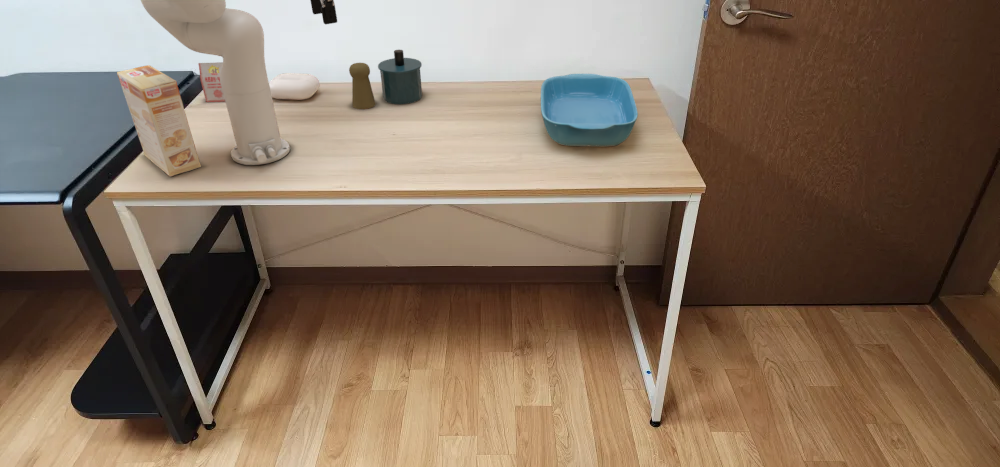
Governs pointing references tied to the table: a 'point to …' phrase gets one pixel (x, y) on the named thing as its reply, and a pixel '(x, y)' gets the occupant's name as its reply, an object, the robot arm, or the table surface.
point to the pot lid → (399, 64)
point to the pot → (401, 87)
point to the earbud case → (294, 86)
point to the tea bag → (211, 81)
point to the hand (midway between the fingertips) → (325, 18)
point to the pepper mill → (361, 86)
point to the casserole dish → (588, 109)
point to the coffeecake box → (159, 119)
